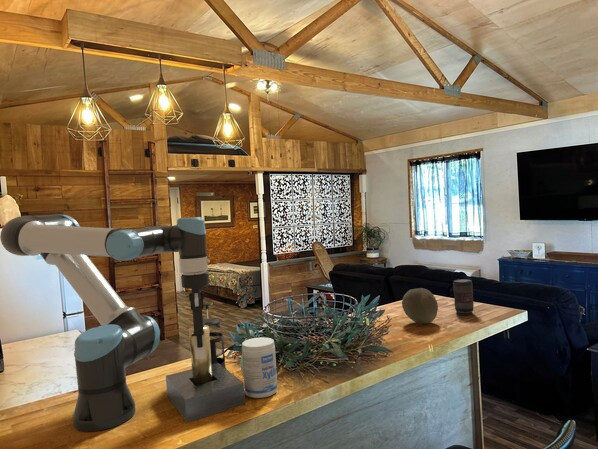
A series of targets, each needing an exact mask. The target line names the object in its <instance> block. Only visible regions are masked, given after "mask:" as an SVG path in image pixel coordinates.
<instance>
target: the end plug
mask: <svg viewBox="0 0 598 449" xmlns="http://www.w3.org/2000/svg"><path fill="white" fill-rule="evenodd" d="M192 325H193V326H190V327H189V328H188V333H189V335H188V336H189V347H190V360H191V361H190V362H191V369H192V377H193V384H194V385H195V386H196V385H200V384H204V383H207V382H211V381H213V379H212V365H211V351H210V340H211V336H210V337H209V332H210V326H208V325H204V322H203V331H204V338H205V351H206V358H202V359H196V355H195V341H194V336H192V334H194V323H192Z"/></svg>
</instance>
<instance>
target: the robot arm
mask: <svg viewBox="0 0 598 449" xmlns="http://www.w3.org/2000/svg"><path fill="white" fill-rule="evenodd" d="M0 241H1V245H2V246H3V248H4V249H5V250H6V252H8V253H10V254H13V255H15V256H18V257H19V256H20V257H21V256H22V257H23V256H25V257H26V256H30V257H31V256H34V257H35V256H39V255H40V256H41V258H42V259H43V260H44V262H46V264H48V265H49V266H50V265H52V266H55V267H56V268H57V269H58V270H59V272H60V273H61V275H62V276H63V277H64V278H65V280H66V281H67V282H68V283H69V285H70V287H72V289H73V290H74V291H75V292H76V294H77V296H78V297H79V298H80V299H81V300H82V302H83V303H84V304H85V306H86V307H87V308H88V309H89V311H90V312H91V314H92V315H93V316H94V318H96V320H97V321H98V323H99V324H100V325H99V326H97V327H92V328H89V329H87V330H84V331H83V332H81V333H80V334H79V335H78V336H77V337H76V339H75V340H74V350H73V351H74V353H73V355H74V361H75V371H76V381H77V390H78V391H77V392H78V393H77V394H78V395H77V400H76V403H75V408H74V411H73V415H72V422H73V428H74V429H76V431H79V432H87V433H88V432H98V431H99V432H100V431H103V430H108V429H111V428H115V427H117V426H119V425H121V424H124V423H125V422H127V421H129V420H130V419H131V418H133V417H134V416H135V414H136V410H137V409H136V402H135V399H134V397H133V395H132V392H131V391H130V388H129V386H128V384H127V377H126V376H127V375H126V368H127V367H130V366H132V365H133V364H135V363H136V362H138V361H140V360H142V359H145V358H147V357H148V356H149V355H150V354H152V352H154V351H155V350H156V349H157V347H158V346H159V343H160V340H161V339H160V336H161V329H160V327H159V325H158V323H157V321H156V320H155V319H154V318H153V317H152V316H147V315H144V314H143V315H141V313H139V311H138V310H137V308H135V307H131V306H127V305H126V304H125V302H124V301H123V300H122V298H121V297H120V295H118V293H117V292H116V291H115V290H114V288H113V287H112V286H111V284H110V283H109V281H108V280H107V279H106V278H105V277H104V275H103V274H102V272H100V270H99V269H98V268H97V267H96V265H95V264H94V262H93V261H92V260H91V258H90V257H93V256H94V257H108V258H113V259H114V260H116V261H131V260H134V259H138V258H143V257H148V256H153V255H157V254H163V253H178V254H179V267H180V273H181V276H180V278H181V287H182V288H183V289H184V290H185V289H187V290H188V289H190V290H191V292H189V293H188V297H189V303H190V310H191V311H192V321H193V323H194V334H192V336H194V341H195V355H196V359H202V358H206V351H205V338H204V331H203V319H204V318H203V310H204V307H205V306H203V303H204V300H205V296H204V291H202V290H201V288H205V287H208V286H209V285H210V275H209V272H208V270H209V265H208V264H210V263H211V260H210V259H208V252H207V250H208V248H207V231H206V224H205V220H204V218H203V217H201V216H195V217H181V218H178V219H177V220H176V225H175V224H174V225H160V226H159V225H158V226H157V225H155V226H154V225H153V226H145V227H141V228H112V227H111V228H110V227H91V226H90V227H88V226H80V224H79V223H78V221H77V220H76V219H75V218H74V217H72V216H70V215H67V214H58V213H51V214H45V215H44V214H43V215H37V214H36V215H21V216H16V217H14V218H12V219H10V220H8V221H7V222H6V223H5V224H4V225H3V226H2V229H1V231H0ZM89 256H90V257H89ZM193 323H192V324H193ZM204 325H206V324H204Z"/></svg>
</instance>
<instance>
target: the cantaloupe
mask: <svg viewBox="0 0 598 449" xmlns="http://www.w3.org/2000/svg"><path fill="white" fill-rule="evenodd" d="M401 306H402V309H403V312H404V314H405V315H406V316H407V318H409V319H410V320H412V321H413V322H414V323H416V324H421V325H427V324H430V323H432V322H434V321H435V320H436V319H437V315H438V311H439V304H438V302H437V299H436V297H435V295H434V294H433V293H432V292H431V291H430V290H429V289H427V288H423V287H419V288H413V289H409V290H408V291H406V293H405V294H404V295H403V297H402V299H401Z"/></svg>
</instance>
